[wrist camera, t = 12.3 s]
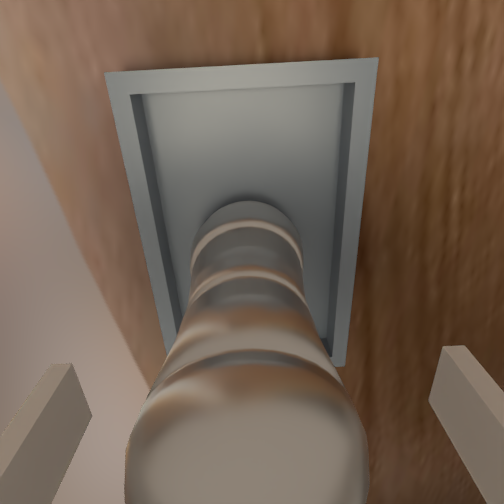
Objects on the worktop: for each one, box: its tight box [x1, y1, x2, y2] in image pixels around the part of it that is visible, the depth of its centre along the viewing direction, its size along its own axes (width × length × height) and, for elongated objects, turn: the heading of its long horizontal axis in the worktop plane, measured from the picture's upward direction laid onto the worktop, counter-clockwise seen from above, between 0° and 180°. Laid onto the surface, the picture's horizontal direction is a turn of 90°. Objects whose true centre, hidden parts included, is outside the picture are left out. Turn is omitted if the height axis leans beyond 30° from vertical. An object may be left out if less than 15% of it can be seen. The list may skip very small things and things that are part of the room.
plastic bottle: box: [124, 201, 369, 504], centre depth 13 cm, size 6×7×20 cm
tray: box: [104, 57, 379, 367], centre depth 22 cm, size 20×13×3 cm, turn 3°
